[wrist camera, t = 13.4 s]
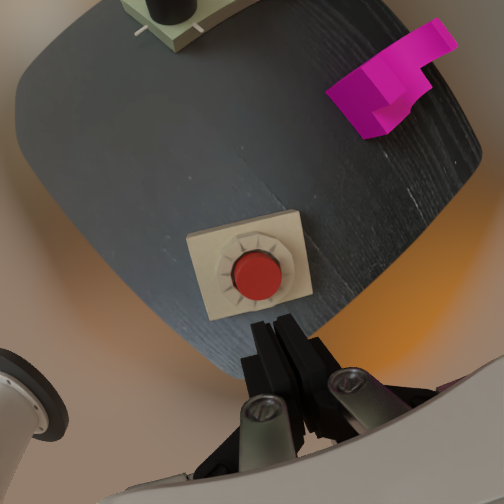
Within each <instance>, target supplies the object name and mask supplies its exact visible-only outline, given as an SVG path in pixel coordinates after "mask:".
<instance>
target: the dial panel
mask: <svg viewBox="0 0 504 504" xmlns="http://www.w3.org/2000/svg"><path fill="white" fill-rule="evenodd" d="M120 1H121V3H122V5H123V7H124V9H125V11H126V12H127V13H128V14H129V15H131V16H132V17H133V18H135V19H136V20H137V21H138V22H140V23H141V24H142V25H143V26H144V27H142V28H141V29H140V30H138V31H137V32H136V33H135V35H136V36H138V35H139V34H140V33H142V32H143V31H144V30H146V29H148V30H149V31H151V32H152V33H153V34H154V35H155V36H156V37H158V38H159V39H160V40H161V41H162V42H163V43H165V44H166V45H167V46H168V47H169V48H170V49H171V50H173V51H174V52H175V53H177V52H178V51H180V50H181V49H182V48H184V47H185V46H186V45H188V44H189V43H191V42H192V41H193V40H195V39H196V38H198V37H199V36H201V35H202V34H204V33H205V32H207V31H208V30H210V29H211V28H213V27H214V26H216V25H217V24H219V23H221V22H222V21H224V20H226V19H227V18H229V17H231V16H232V15H234V14H236V13H237V12H239V11H241V10H243V9H245V8H246V7H248V6H250V5H252V4H254V3H256V2H258V1H260V0H197V10H196V12H195V13H194V15H193V16H192V17H191V18H189V19H188V20H186V21H184V22H182V23H179V24H176V25H161V24H158V23H156V22H154V21H153V20H152V19H151V17H150V14H149V11H148V8H147V5H146V2H145V0H120Z"/></svg>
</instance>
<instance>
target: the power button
mask: <svg viewBox="0 0 504 504" xmlns="http://www.w3.org/2000/svg"><path fill="white" fill-rule="evenodd" d="M234 277H235V281H236V284H237V288H238V290H239V291H240V293H241V294H242V295H243V296H244V297H246V298H248V299H251V300H255V301H260V300H265V299H267V298H270V297H271V296H272V295H274V294H275V293H276V292H277V290H278V289H279V287H280V284H281V280H282V275H281V271H280V268H279V267H278V265H277V264H276V263H275V262H274V260H273V259H272V258H271V257H270V256H268V255H267V254H264V253H261V252H253V253H249V254H247V255H245V256H243V257H242V258H241V259H240V260H239V261H238V263H237V265H236V267H235V271H234Z"/></svg>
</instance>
